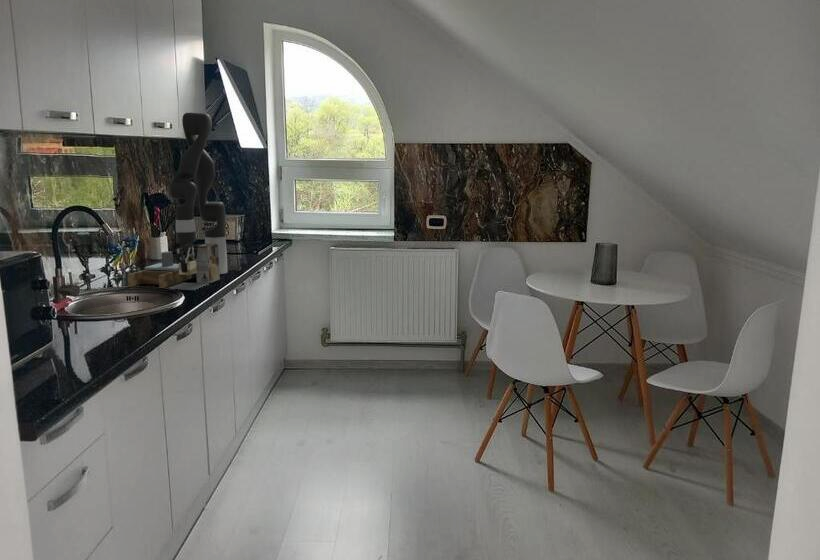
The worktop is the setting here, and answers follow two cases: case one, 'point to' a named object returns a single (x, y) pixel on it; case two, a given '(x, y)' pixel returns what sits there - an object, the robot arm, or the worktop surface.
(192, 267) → the block
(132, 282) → the organiser
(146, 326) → the worktop surface
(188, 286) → the mat
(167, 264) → the lid
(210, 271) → the coffee box
